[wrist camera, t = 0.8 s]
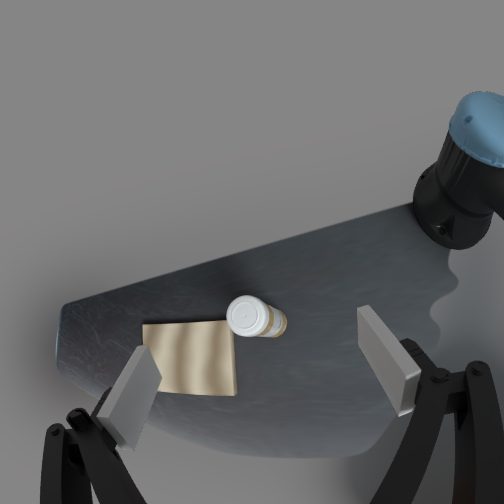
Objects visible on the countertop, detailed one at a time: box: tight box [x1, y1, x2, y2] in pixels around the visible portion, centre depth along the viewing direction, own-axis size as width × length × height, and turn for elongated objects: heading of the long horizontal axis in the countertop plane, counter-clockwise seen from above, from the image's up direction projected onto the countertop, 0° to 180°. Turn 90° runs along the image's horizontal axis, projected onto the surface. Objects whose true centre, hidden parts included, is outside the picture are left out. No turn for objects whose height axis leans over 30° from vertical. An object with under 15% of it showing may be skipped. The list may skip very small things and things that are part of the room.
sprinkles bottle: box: [226, 295, 287, 337], centre depth 36 cm, size 5×5×14 cm
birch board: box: [143, 320, 237, 396], centre depth 44 cm, size 17×12×2 cm
